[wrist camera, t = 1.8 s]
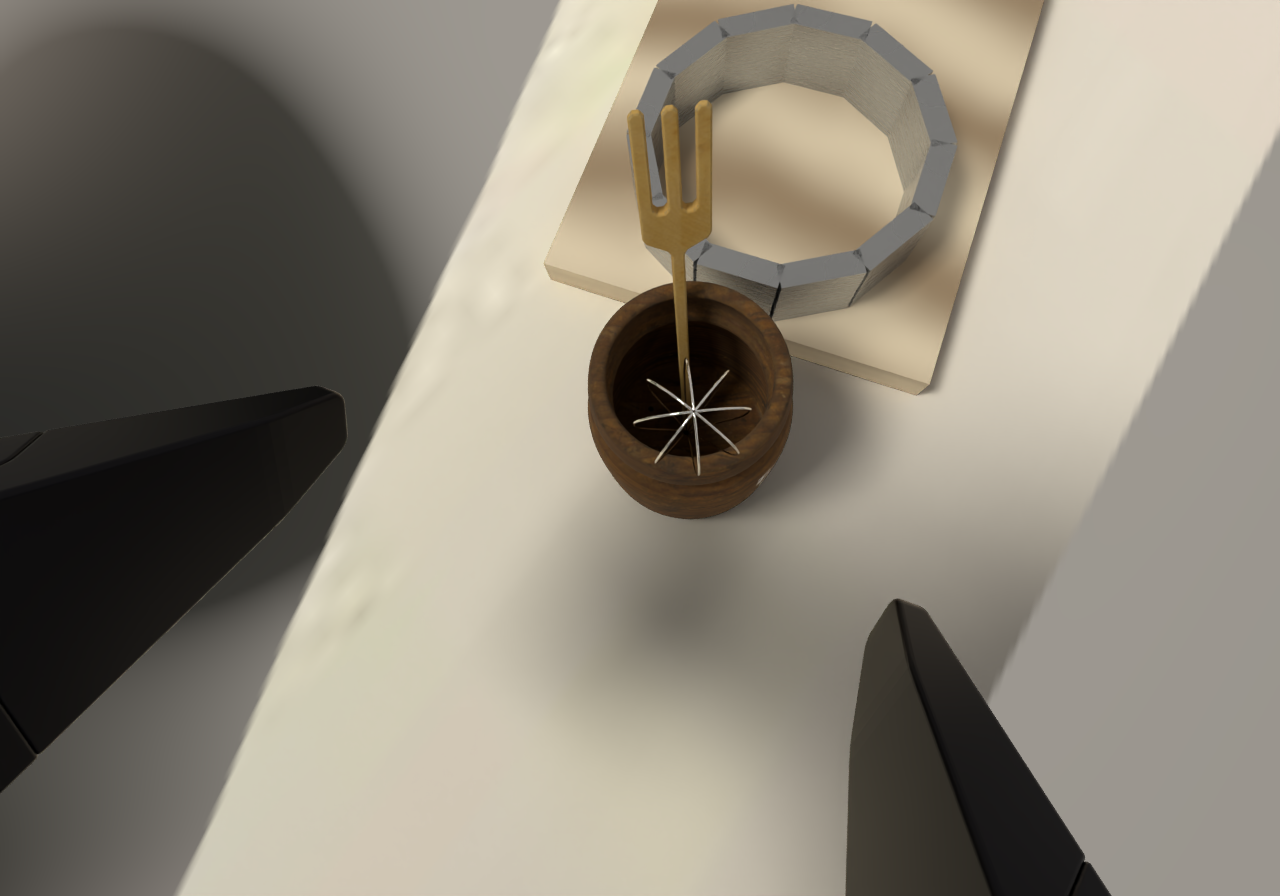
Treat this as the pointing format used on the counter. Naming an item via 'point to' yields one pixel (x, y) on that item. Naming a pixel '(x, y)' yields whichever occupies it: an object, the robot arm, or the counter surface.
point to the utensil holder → (687, 361)
